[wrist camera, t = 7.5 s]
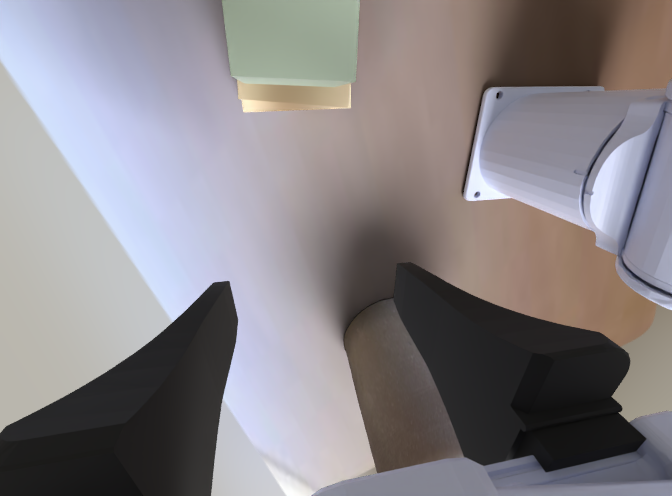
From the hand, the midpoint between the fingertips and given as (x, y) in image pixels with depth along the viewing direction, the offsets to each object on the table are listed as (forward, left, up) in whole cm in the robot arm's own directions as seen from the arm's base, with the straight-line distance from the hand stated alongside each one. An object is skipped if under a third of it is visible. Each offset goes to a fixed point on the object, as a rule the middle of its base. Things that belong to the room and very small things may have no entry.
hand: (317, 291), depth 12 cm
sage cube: (0, -10, -5) cm, 11 cm away
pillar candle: (-8, +14, -11) cm, 19 cm away
